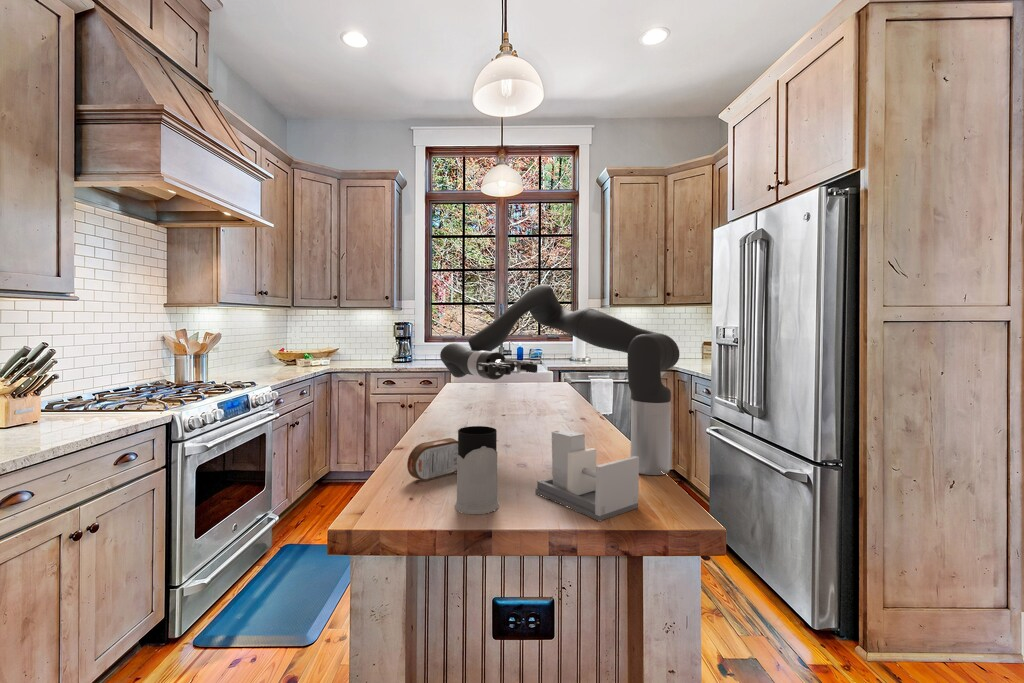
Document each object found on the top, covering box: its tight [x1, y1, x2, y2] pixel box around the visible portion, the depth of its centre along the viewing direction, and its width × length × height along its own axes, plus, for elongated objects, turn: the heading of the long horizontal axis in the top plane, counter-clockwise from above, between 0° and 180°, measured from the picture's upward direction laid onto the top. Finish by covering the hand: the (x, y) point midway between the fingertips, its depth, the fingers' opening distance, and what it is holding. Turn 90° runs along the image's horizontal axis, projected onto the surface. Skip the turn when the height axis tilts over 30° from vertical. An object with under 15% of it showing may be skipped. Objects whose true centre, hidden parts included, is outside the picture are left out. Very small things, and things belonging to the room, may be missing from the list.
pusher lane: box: [534, 456, 640, 522], centre depth 100 cm, size 11×18×10 cm, turn 37°
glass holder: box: [454, 425, 500, 515], centre depth 99 cm, size 9×14×15 cm, turn 22°
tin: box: [406, 437, 458, 482], centre depth 115 cm, size 15×3×8 cm, turn 134°
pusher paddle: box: [567, 447, 597, 495], centre depth 99 cm, size 7×6×9 cm
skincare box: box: [551, 428, 586, 491], centre depth 104 cm, size 6×4×12 cm
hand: (523, 369), depth 124 cm, fingers open, 8 cm apart
